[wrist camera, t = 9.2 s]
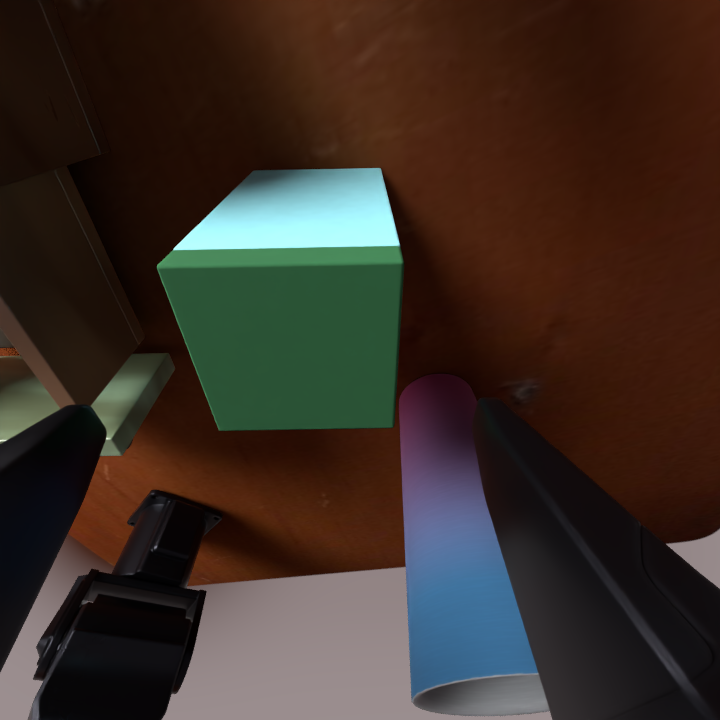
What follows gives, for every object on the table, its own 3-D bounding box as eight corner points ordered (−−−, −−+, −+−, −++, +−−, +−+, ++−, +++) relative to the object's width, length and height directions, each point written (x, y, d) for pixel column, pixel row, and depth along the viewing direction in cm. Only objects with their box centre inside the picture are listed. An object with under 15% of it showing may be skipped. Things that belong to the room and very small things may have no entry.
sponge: (379, 284, 19) (394, 429, 12) (273, 286, 19) (218, 432, 12) (381, 167, 16) (404, 261, 8) (252, 170, 16) (153, 265, 8)
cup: (401, 443, 28) (435, 721, 16) (371, 379, 24) (386, 687, 12) (493, 420, 26) (606, 708, 14) (477, 349, 22) (615, 664, 10)
